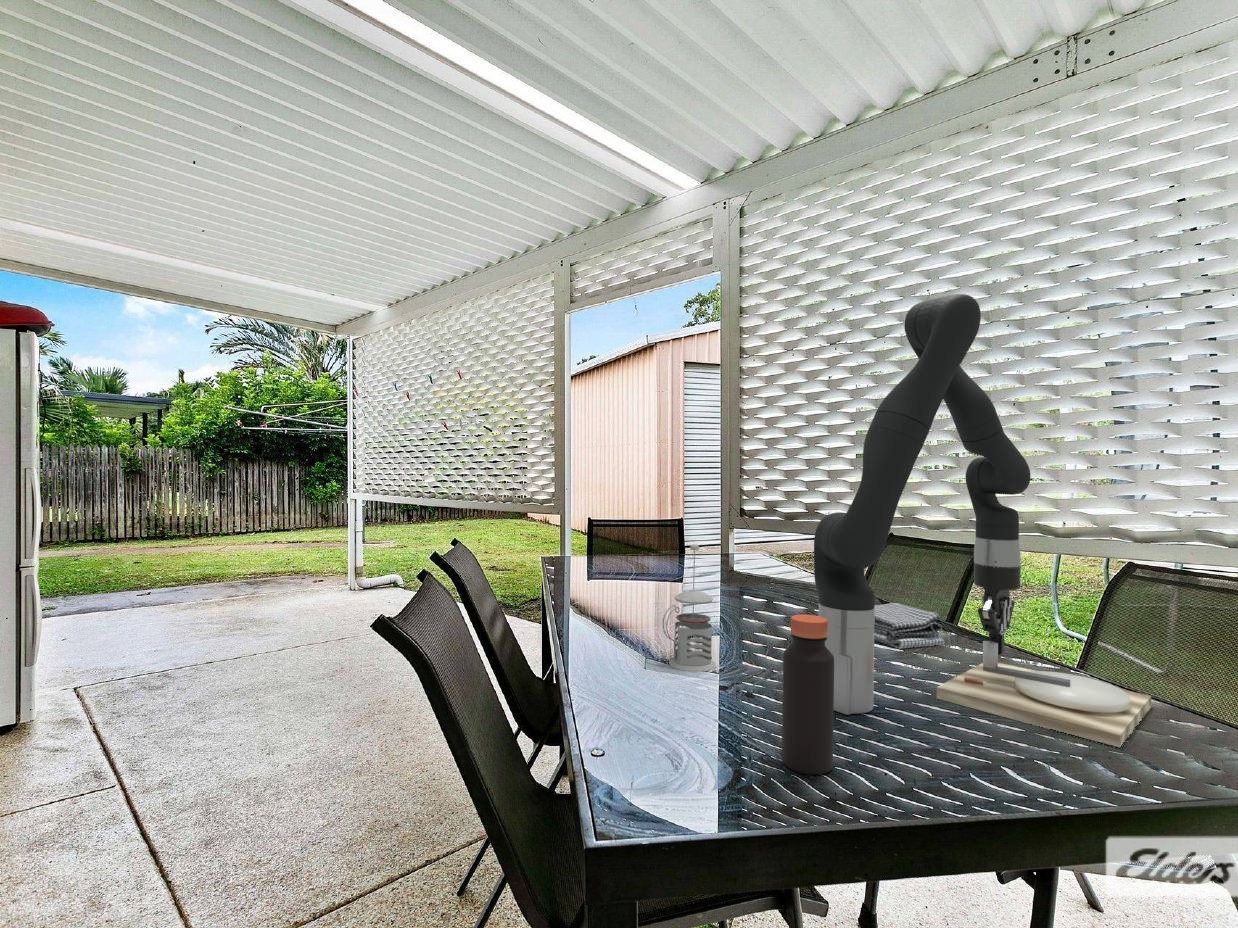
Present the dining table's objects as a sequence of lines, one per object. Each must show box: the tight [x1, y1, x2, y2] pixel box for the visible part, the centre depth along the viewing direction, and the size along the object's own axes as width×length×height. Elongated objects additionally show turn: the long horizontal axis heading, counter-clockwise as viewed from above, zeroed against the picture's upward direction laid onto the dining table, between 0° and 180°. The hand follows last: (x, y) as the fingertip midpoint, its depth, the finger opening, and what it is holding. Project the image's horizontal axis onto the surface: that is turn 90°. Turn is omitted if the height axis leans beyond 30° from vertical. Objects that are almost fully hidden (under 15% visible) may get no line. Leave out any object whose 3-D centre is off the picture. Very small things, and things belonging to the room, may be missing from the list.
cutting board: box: [936, 662, 1152, 748], centre depth 110 cm, size 26×26×3 cm
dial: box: [982, 640, 1130, 713], centre depth 107 cm, size 16×21×7 cm
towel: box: [874, 602, 945, 650], centre depth 152 cm, size 15×18×8 cm
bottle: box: [781, 614, 834, 776], centre depth 85 cm, size 7×7×20 cm
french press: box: [662, 543, 717, 673], centre depth 128 cm, size 10×12×25 cm
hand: (996, 652), depth 117 cm, fingers closed
